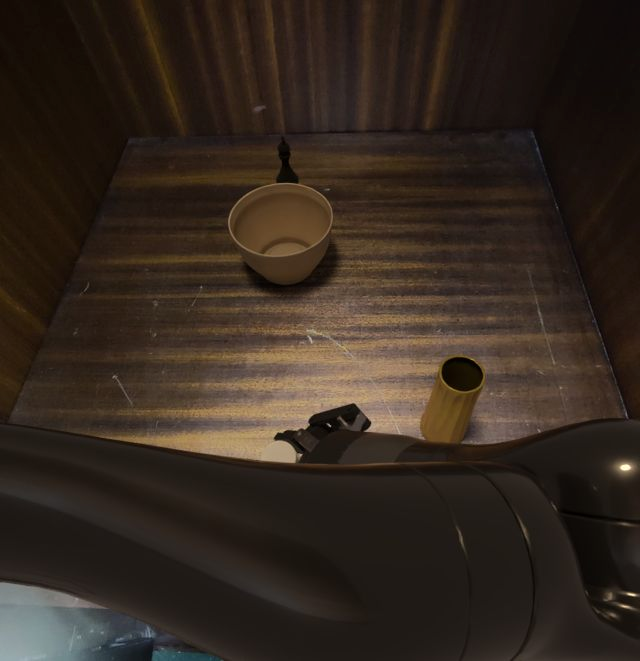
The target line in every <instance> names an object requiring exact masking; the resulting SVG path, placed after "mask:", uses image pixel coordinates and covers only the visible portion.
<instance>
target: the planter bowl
mask: <svg viewBox="0 0 640 661" xmlns="http://www.w3.org/2000/svg"><path fill="white" fill-rule="evenodd" d="M333 222H334V213H333V208H332V206H331V204H330V202H329V200H328V199H327V198H326V197H325V196H324V195H323V194H322V193H321V192H319V191H317V190H315V188H312V187H309V186H307V185H304V184H300V183H298V184H294V183H271V184H267V185H264V186H260V187H257V188H255V189H253V190H251V191H250V192H248V193H246V194H244V195H243V196H242V197H241V198H240V199H239V200H237V202H236V203H235V204H234V206H233V207H232V209H231V210H230V212H229V215H228V220H227V226H228V231H229V235H230V236H231V238H232V240H233V242H234V245H235V247H236V250H237V251H238V253H239V255H240V256H241V258H242V259H243V261H244V262H245V263H246V264H247V265H248V266H249V267H250V268H251V269H252V270H253V271H254V272H256V273H258V274H259V275H260V276H263V277H264V278H265V279H266V280H267V281H269V282H271V283H273V284H275V285H276V284H277V285H280V286H281V285H282V286H290V285H295V284H298V283H300V282H302V281H304V280H306V279H307V278H308V277H309V276H310V275H311V274H312V273H313V271H314V269H315V268H316V267H317V266H318V265H319V264H320V262H321V261H322V259H323V258H324V256H325V254H326V252H327V250H328V247H329V245H330V241H331V235H332V227H333V224H334V223H333Z"/></svg>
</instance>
